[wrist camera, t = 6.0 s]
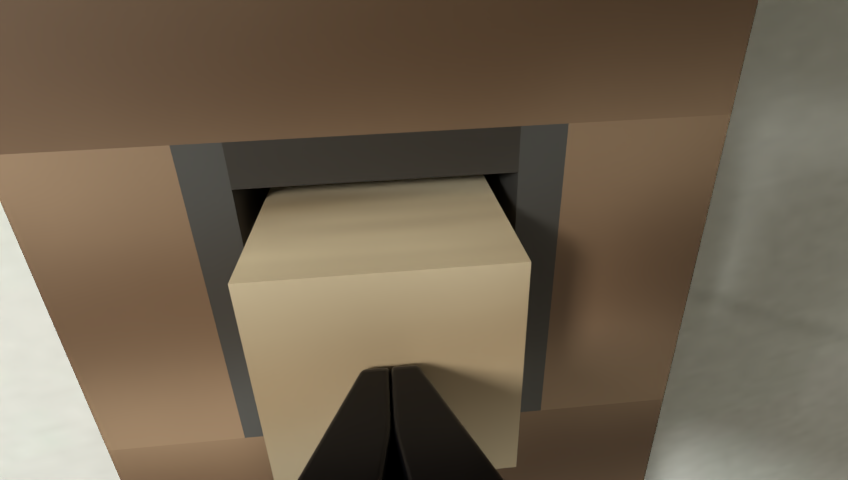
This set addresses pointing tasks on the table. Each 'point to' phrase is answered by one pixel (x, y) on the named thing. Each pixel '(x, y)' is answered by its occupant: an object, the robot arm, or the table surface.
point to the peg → (382, 306)
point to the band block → (360, 162)
